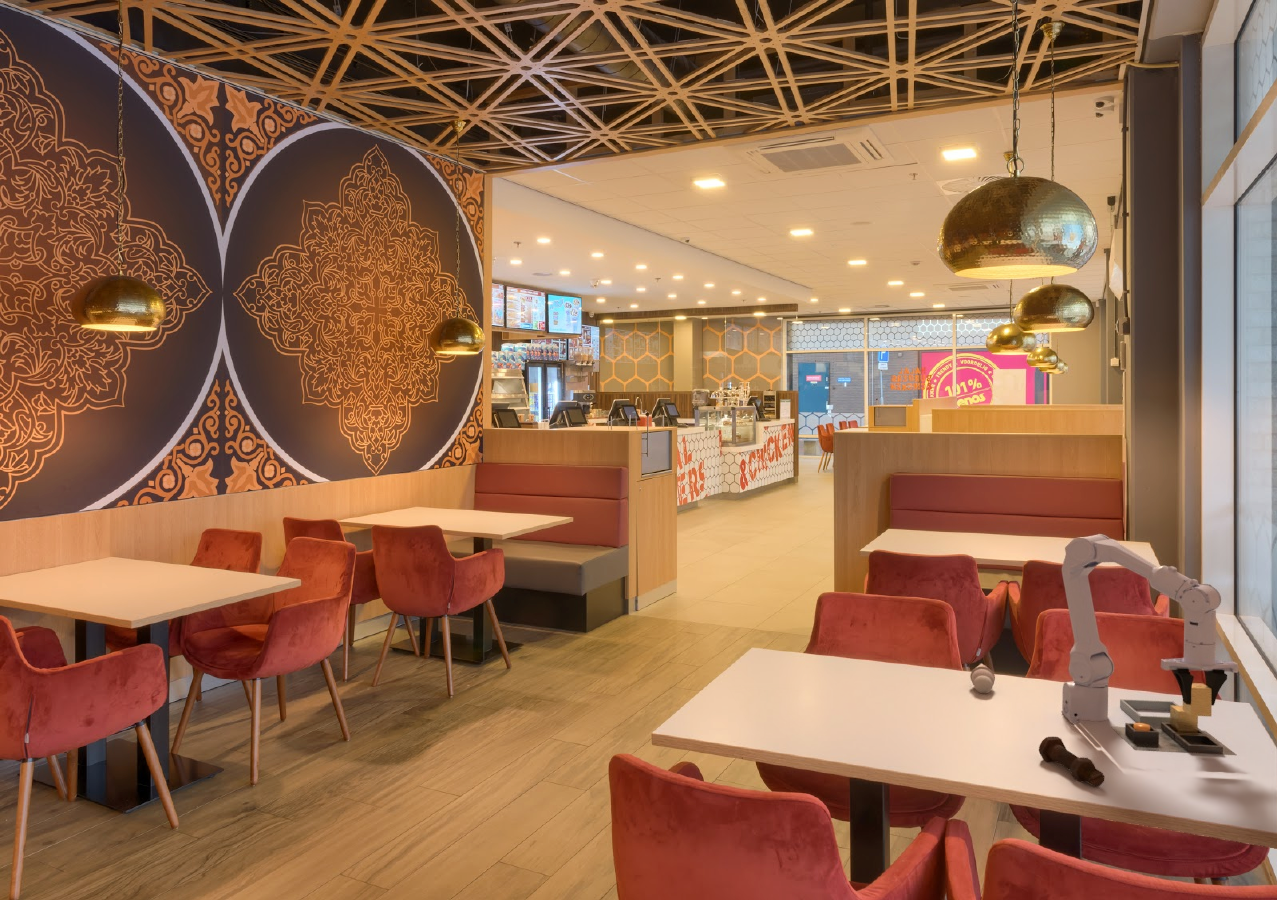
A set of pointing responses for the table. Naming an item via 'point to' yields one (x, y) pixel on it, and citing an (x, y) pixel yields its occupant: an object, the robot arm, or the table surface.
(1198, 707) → the billet
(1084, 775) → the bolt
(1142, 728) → the button
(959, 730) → the table surface
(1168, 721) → the tote
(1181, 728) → the billet
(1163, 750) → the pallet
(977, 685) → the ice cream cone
